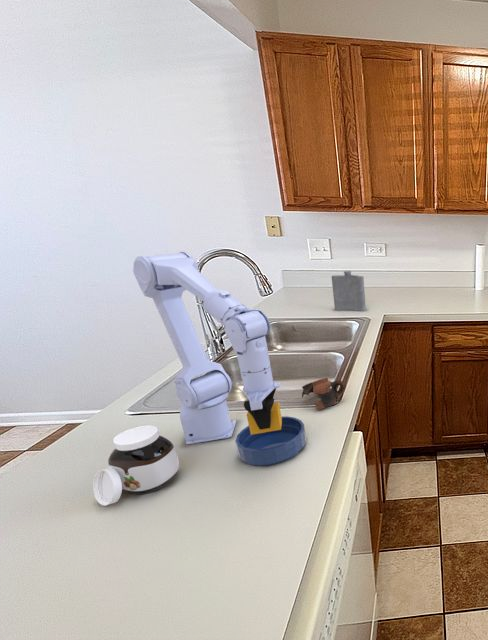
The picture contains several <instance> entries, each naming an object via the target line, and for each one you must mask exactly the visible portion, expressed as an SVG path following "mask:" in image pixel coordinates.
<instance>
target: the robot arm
mask: <svg viewBox="0 0 488 640" xmlns="http://www.w3.org/2000/svg"><path fill="white" fill-rule="evenodd" d="M198 265H199V264H198V263H197V260H196V259H195V258H194V257H193V256H192V255H191V254H190V253H188V252H186V251H179V252H174V253H163V254H155V255H146V256H145V255H144V256H143V255H139V256H137V257H135V259H134V261H133V268H132V272H133V275H134V277H135V280H136V281H137V284H138V286H139V288H140V290H141V292H142V294H143V296H144V297H147V298H151V299H152V301H153V303H154V305H155V307H156V309H157V312H158V314H159V316H160V318H161V320H162V323H163V325H164V327H165V329H166V332H167V334H168V337H169V339H170V341H171V343H172V345H173V347H174V350H175V352H176V354H177V356H178V359H179V361H180V363H181V365H182V367H181V369H180V370H179V372H177V374H176V375H175V377H174V379H173V383H174V385H175V388H176V395H177V397H178V399H179V401H180V402H181V404H182V405H181V406H180V410H179V419H180V424H181V427H182V430H183V431H182V432H183V434H184V438H185V445H192V444H193V445H194V444H199V443H206V442H212V441H217V440H223V439H229V438H231V437H232V436H233V434H234V430H235V427H236V424H237V420H236V419H233V420H232V419H231V415H230V411H229V405H228V401H227V398H229V393H230V392H231V390H232V387H233V383H232V379H231V377H230V375H229V374H228V373H227V372H226V370H225V369H224V366H223V364H221V363H218V362H215V361H212V360H209V359H208V357H207V354H206V352H205V350H204V347H203V344H202V343H201V339H200V338H199V336H198V333H197V331H196V329H195V325H194V324H193V321H192V320H191V317H190V315H189V312H188V310H187V308H186V305H185V303H184V300H183V299H182V295H183V293H184V292H185V291H188V292H189V293H190V294H191V295H193V296H195V297H196V298H197V299H199V300H201V301H202V302H203V303H202V306H203V309H204V311H205V312H206V313H208V315H210V316H211V317H212V318H213V319H215V320H216V321H217V322H218V323H219V324H220V325H222V326H223V327H224V328H223V330H224V333H225V335H226V337H227V338H228V339H229V342H230V344H231V348H232V351H234V352H235V353H236V358H237V362H238V367H239V371H240V377H241V382H242V387H243V388H242V392H243V394H244V396H245V397H246V399H247V400H244V402H243V408H244V410H245V411H247V413H248V412H249V413H250V414H251V415H252V416H253V418H254V420H255V422H256V424H257V426H258V427H259V429H260V430H261V429H267V428H270V425H271V409H272V406H273V403H275V398H274V396H275V394H276V391H277V389H280V387H281V382H280V381H274V378H273V371H272V367H271V361H270V355H269V349H268V343H267V337H266V336H268V335H269V334H270V333H271V322H270V320H269V318H268V316H267V315H266V313H264V311H262V310H261V309H259V308H255V309H254V308H252V307H247V306H246V305H245V304H243V302H241V301H240V300H238V299H237V297H235V296H234V295H233V294H231V293H230V292H229V291H228V290H225V289H217V288H216V287H215V285H213V284H212V282H210V281H209V280H208V279H207V278H206V277H205V276H204V275H203V274H202V273H201V272H200V271H199V270H200V269H199V266H198Z"/></svg>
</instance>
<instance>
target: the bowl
mask: <svg viewBox="0 0 488 640" xmlns="http://www.w3.org/2000/svg"><path fill="white" fill-rule="evenodd" d="M281 418H282V425H281V430H276V431H270V432H264V433H258V434H253V435H251V433H250V428H249V425H247V426H246V427H244V428H243V429H241V430H240V431H239V433H238V434H237V435H236V437H235V446H236V450H237V454H238V457H239V460H241V461H242V462H244V463H245V464H249V465H250V466H258V467H266V466H272V465H273V466H274V465H277V464H280V463H283V462H285V461H287V460H289V459H291V458H294V456H296V455H297V454H298V453H300V451H301V450H302V449H303V448H304V446H305V445H306V443H307V435H306V428H305V424H304V422H303V421H302V419H299V418H297V417H293V416H287V415H285V416H283V415H281Z"/></svg>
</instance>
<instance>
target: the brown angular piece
mask: <svg viewBox="0 0 488 640" xmlns="http://www.w3.org/2000/svg"><path fill="white" fill-rule="evenodd" d="M338 386H340V388H339V390H338V389H337V388H338ZM301 388H302V392H301V397H302V398H304V396H309V395H310V394H311V393H313V394H314V395H316V396H318V397H319V399H320V400H319V401H317V402H315V403H314V407H315V409H316V410H317V411H320V410H323V409H326V408H329V407H332V406H335V405H336V404H337V400H338V399H339V397H340V396H342V395H343V394H344V393H345V391H346V384H345V382H344V381H343V380H335V381H330V380H329V378H328V377H323V378H319V379H318V380H315V381H312V382H309V383H307V384H303V386H301Z"/></svg>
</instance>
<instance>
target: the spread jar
mask: <svg viewBox="0 0 488 640" xmlns="http://www.w3.org/2000/svg"><path fill="white" fill-rule="evenodd" d="M112 443H113V446H114V449H113V450H112V452H111V453H110V454H109V457H108V460H107V464H108V467H105V468H103V469H99V470H97V472H96V473H95V474H94V476H93V479H92V492H93V495H94V498H95V500H96V501H97V502H98V504H99V505H101V506H110V505H113V504H115V503H117V502H118V501H119V500H120V499H121V495H122V491H124V492H127V493H130V494H132V495H145V494H148V493H152V492H155V491H157V490H159V489H162V488H163V487H165V486H166V485H167V484H169V482H171V480H173V479H174V477H175V476H176V475H177V473H178V471H179V469H180V460H179V457H178V454H177V450H176V448H175V445H174V444H173V443H172V441H170V440H169V439H168V438H166V437H164V436H162V435H160V432H159V429H158V427H157V426H156V425H152V424H151V425H150V424H147V425H139V426H135V427H132V428H129V429H126V430H124V431H122V432H119V433H118V434H117V435H116V436H115V437H114V438H113V440H112Z"/></svg>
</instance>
